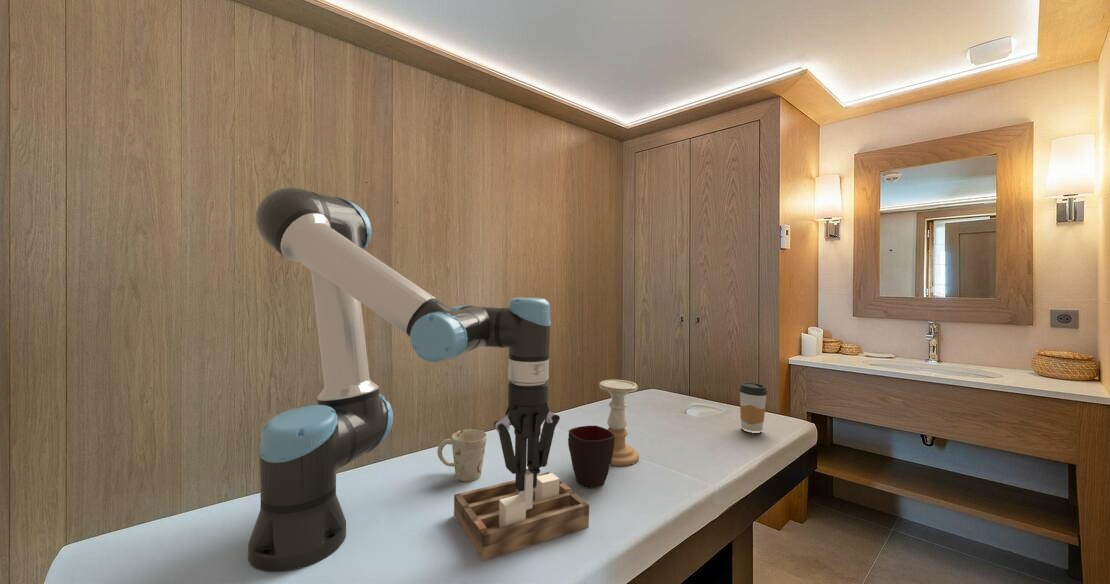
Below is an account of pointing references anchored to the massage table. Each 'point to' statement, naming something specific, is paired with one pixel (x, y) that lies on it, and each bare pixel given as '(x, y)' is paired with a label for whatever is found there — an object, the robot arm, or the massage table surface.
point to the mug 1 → (466, 453)
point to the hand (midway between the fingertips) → (525, 505)
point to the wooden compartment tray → (541, 523)
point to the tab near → (511, 510)
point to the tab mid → (546, 486)
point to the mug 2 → (591, 454)
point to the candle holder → (619, 420)
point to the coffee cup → (752, 406)
